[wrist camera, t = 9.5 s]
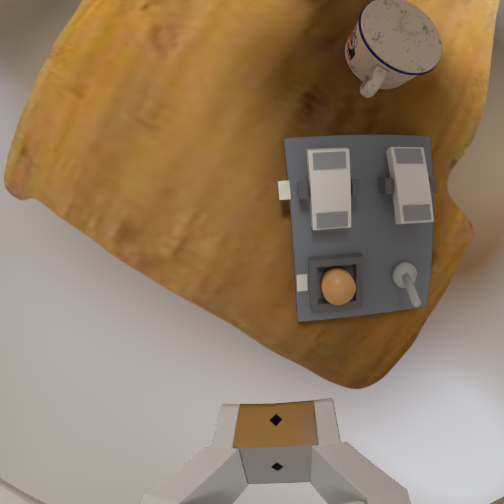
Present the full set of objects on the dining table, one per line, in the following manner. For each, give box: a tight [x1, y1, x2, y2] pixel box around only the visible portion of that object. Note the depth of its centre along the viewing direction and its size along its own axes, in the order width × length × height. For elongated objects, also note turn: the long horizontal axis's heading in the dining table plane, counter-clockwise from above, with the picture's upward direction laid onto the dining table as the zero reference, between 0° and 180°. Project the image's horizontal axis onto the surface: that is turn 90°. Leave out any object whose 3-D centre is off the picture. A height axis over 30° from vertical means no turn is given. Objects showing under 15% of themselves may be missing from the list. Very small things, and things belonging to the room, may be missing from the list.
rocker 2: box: [386, 147, 434, 225], centre depth 29 cm, size 8×4×2 cm, turn 6°
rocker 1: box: [306, 148, 351, 230], centre depth 30 cm, size 8×4×2 cm, turn 6°
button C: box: [320, 266, 356, 305], centre depth 33 cm, size 4×4×2 cm
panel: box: [278, 135, 436, 322], centre depth 32 cm, size 21×18×8 cm
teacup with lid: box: [345, 0, 442, 98], centre depth 25 cm, size 12×9×12 cm
